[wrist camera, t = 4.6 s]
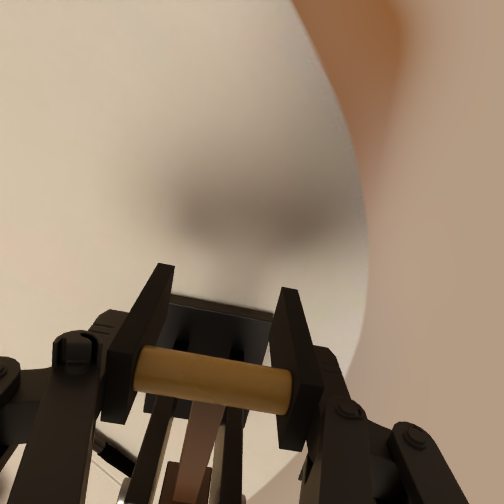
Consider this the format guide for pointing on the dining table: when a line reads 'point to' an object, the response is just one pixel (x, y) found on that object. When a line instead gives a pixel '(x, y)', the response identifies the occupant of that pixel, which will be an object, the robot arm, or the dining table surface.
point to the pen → (113, 456)
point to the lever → (206, 407)
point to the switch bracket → (166, 408)
